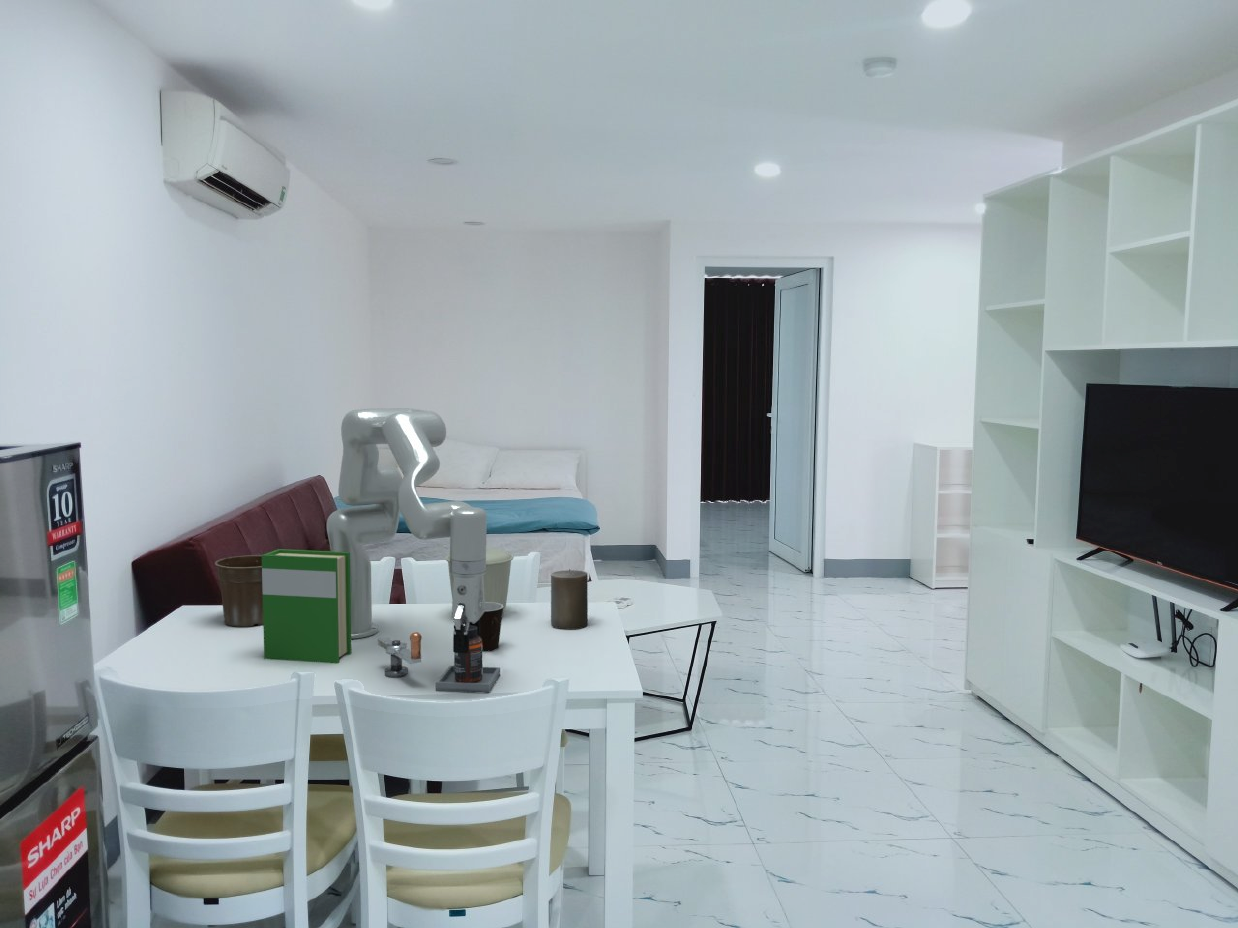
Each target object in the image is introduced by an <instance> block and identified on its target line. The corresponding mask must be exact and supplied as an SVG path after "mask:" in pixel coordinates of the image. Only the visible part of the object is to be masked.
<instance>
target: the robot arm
mask: <svg viewBox="0 0 1238 928" xmlns="http://www.w3.org/2000/svg"><path fill="white" fill-rule="evenodd" d="M340 431H341V433H340V435H341V440H342V448H343V449H342V459H341V463H340V464H341V466H340V473H339V474H340V475H339V479H338V480H339V481H338V493H337V494H338V498H339V500H340V501H341V503H343V504H345V505H347V506H350V507H344V508H340V509H337V510H335V511H333V512H332V513H331V514H330V515H329V516H328V517H327V519H326V532H327V537H328V542H329V549H330V550H329V551H332V552H350V587H351V640H353V639H360V638H367V637H370V636H373V635H375V634H376V633H377V634H378V632H379V626H378V624H377V623H374V622H373V618H372V617H373V615H372V614H373V607H372V605H373V603H372V602H373V601H372V562H371V559H370V557H369V555H368V554H367V552H366V551H364V549H363V548H362V546H366V545H369V544H377V543H384V542H388V541H391V540H392V539H394V537H395V536H396V534H397V531H398V527H399V522H400V515H401V516H402V518H403V521H405V524H406V526H407V528H408V530H409V531H410V533H411V534H412V535H413V536H414V537H415V538H417V539H419V540H425V541H428V540H435V539H436V540H437V539H442V538H449V554H450V574H451V575H453V576H454V582H453V600H452V603H451V604H452V605H451V615H452V616H451V618H452V621H453V622H454V625H453V637H452V639H453V640H452V643H453V645H452V648H453V649H452V651H453V654H454V653H468V652H469V634H468V628H469V625H472V626H476V627H477V631H478V633H477V634H478V636H479V637H480V621H478V620H480V617H481V616H482V615H483V613H484V610H485V604H484V578H483V575H484V574H486V547H487V526H488V525H487V521H488V519H487V517H488V516H487V513H486V510H484V509H483V508H481V507H478V506H477V507H475V506H472V505H470V504H469V503H467V502H465V501H461V500H460V501H459V500H456V501H455V500H454V501H445V502H433V503H423V502H422V499H421V497H420V496H419V494H418V492H417V489H416V488H417V487H419V486H421V485H422V484H424V483H426V482H428V481H429V480H430V479H432V478H433V477H434V476H435V475H436V474H437V472H438V471H439V470H440V466H441V461H440V458H439V456H438V455H437V454H436V451H435V449H434V448H437V447H440V446H441V445H442V444H443V443H444V441H445V440H446V438H447V428H446V424H445V421H444V420H443V418H442V417H441V416H440V414H438V413H437V412H434V411H432V410H423V409H416V408H404V407H403V408H360V409H354V410H350V411H348V412H346V414H345V416H344V417H343V419H342V422H341V426H340ZM377 445H387V446H388V448H389V450H390V451H391V454H392V456H393V457H394V459H395V462H396V463H397V465H398V467H399V469H400V471H399V470H398V469H397V468H396V467H394V466H392V465H379V460H380V452H379V451H380V450H379V448H378V446H377ZM402 475H403V476H402ZM351 506H353V507H351ZM465 619H467V620H465ZM464 626H465V628H464Z"/></svg>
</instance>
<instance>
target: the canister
mask: <svg viewBox="0 0 1238 928" xmlns="http://www.w3.org/2000/svg"><path fill="white" fill-rule="evenodd" d="M514 557H515V556H514V555H513V554H512V553H510V552H508V550H506V549H503V548H498V547H497V548H496V547H489V546H488V547H487V546H486V574H484V575H483V578H484V602H493V603H499V604H502V605H503V613H502V615H503V614H504V612H505V611H506V607H507V600H508V593H509V584H510V576H511V575H510V574H511V568H512V567H511V565H512V561H513V560H514ZM444 558H445V561H446V562H447V564H448V565H447V566H448V573H449V575H448V576H449V582H450V583H449V584H450V591H451V592H450V594H451V599H452V600H453V582H454V576H453V575H451V574H450V553H449V554H448V555H446V556H445V557H444ZM465 620H467V619H465Z"/></svg>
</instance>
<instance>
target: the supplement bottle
mask: <svg viewBox="0 0 1238 928" xmlns="http://www.w3.org/2000/svg"><path fill="white" fill-rule="evenodd" d="M464 628H465V625H464ZM477 633H478V631H477V627H476V626H472V625H469V628H468V634H469V652H468V653H454V652H453V655H454V657H453V659H454V660H453V661H454V662H453V663H454V665H453V666H454V671H455V672H454V673H455V674H454V675H455V680H456V681H458V682H461V683H474V682H477V681H479V680H481V679H482V675H483V667H484V666H483V652H482V639H481V637H479V636H478V634H477Z"/></svg>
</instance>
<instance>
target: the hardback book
mask: <svg viewBox="0 0 1238 928" xmlns="http://www.w3.org/2000/svg"><path fill="white" fill-rule="evenodd" d="M261 555H262V587H263V625H262V626H263V653H264V656H263V657H264V660H276V661H277V660H279V661H291V662H292V661H294V662H305V663H306V662H307V663H309V662H310V663H324V664H338V663H340V658H341V657H342V656H344V655H345V656H346V655H347V656H351V655H352V653H353V652H352V650H353V649H352V639H351V587H350V552H332V551H331V550H328V551H327V550H308V549H307V550H306V549H283V548H282V549H281V548H277V549H275V550H273V551H269V552H267V553H264V554H261Z"/></svg>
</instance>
